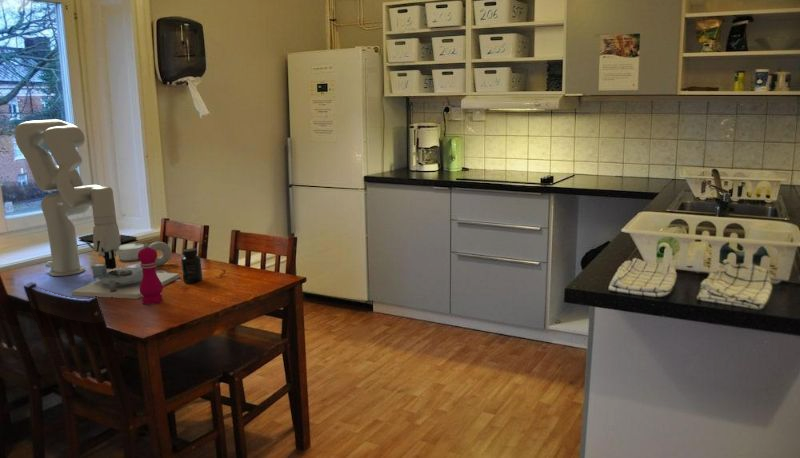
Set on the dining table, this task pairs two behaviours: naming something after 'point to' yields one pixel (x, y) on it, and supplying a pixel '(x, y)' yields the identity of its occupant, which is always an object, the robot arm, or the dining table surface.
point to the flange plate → (117, 275)
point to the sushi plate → (122, 238)
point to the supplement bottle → (191, 266)
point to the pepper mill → (149, 276)
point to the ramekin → (129, 251)
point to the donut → (165, 252)
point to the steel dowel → (112, 286)
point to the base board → (120, 288)
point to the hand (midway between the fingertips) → (111, 268)
